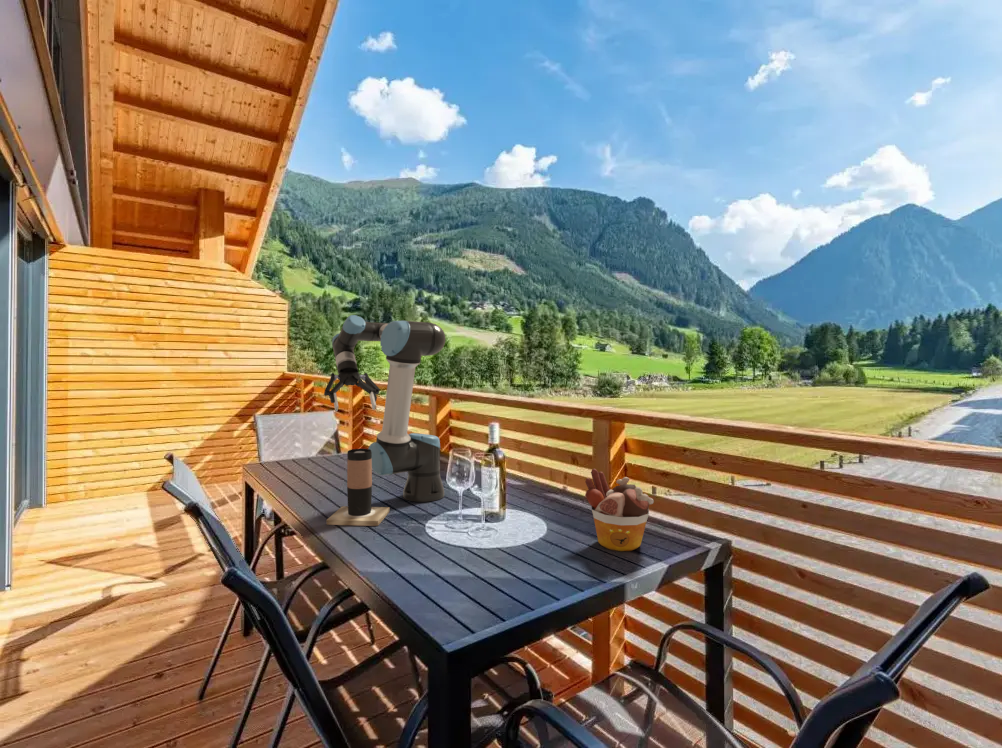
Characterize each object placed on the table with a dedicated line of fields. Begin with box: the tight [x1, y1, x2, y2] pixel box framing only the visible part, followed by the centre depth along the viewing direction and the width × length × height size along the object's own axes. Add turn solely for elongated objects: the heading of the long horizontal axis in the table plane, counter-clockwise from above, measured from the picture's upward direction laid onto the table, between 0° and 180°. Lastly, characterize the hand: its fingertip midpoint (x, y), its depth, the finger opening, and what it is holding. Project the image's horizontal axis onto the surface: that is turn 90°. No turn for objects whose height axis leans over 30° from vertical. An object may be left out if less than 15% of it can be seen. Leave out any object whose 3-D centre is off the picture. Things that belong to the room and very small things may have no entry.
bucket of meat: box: [584, 468, 654, 552], centre depth 143 cm, size 20×16×20 cm
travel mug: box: [346, 448, 373, 516], centre depth 163 cm, size 8×8×20 cm
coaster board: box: [326, 505, 390, 527], centre depth 163 cm, size 16×14×2 cm
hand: (356, 408), depth 186 cm, fingers open, 13 cm apart
